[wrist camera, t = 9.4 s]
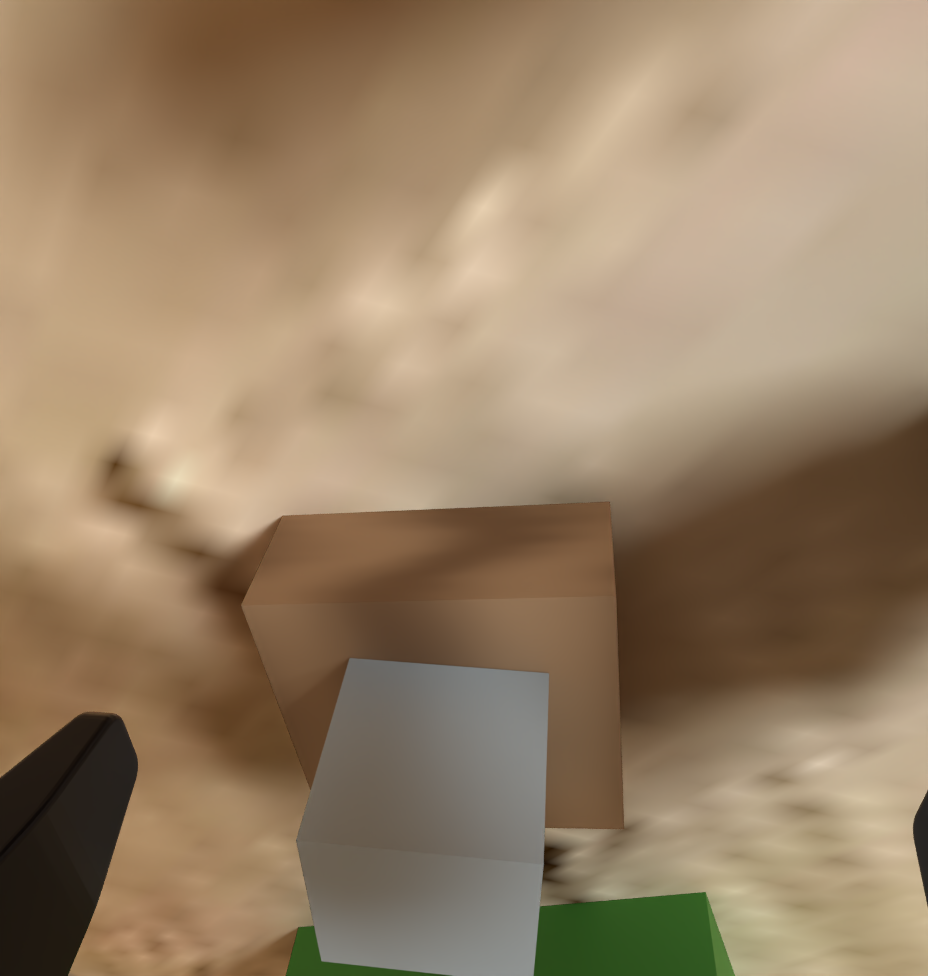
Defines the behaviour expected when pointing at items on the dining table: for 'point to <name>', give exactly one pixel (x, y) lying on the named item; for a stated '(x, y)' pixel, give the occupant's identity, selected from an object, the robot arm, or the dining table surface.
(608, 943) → the hardback book
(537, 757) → the slate cube
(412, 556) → the walnut block
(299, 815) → the dining table surface
